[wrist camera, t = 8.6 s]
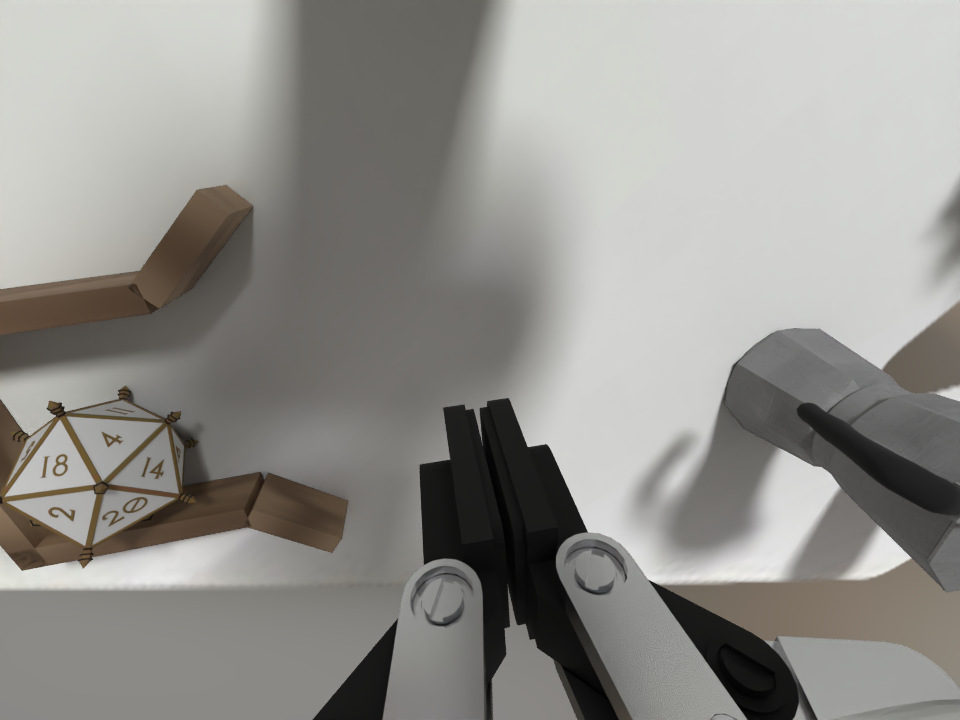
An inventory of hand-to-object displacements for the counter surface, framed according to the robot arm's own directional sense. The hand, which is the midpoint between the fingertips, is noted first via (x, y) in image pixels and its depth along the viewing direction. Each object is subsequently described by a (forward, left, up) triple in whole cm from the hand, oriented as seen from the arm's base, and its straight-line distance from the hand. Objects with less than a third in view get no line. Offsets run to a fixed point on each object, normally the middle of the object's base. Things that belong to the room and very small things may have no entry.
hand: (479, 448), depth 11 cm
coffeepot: (+11, +24, -17) cm, 32 cm away
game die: (+7, -20, -17) cm, 27 cm away
